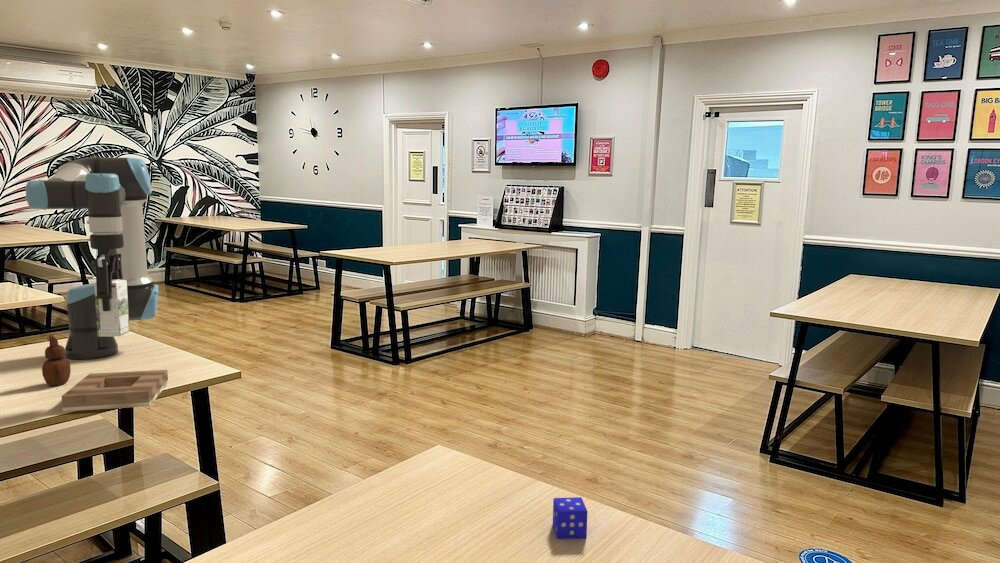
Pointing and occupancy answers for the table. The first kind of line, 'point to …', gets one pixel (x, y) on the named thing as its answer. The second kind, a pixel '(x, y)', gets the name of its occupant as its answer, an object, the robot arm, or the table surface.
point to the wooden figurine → (55, 364)
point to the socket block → (115, 390)
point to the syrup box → (119, 311)
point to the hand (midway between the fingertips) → (113, 320)
